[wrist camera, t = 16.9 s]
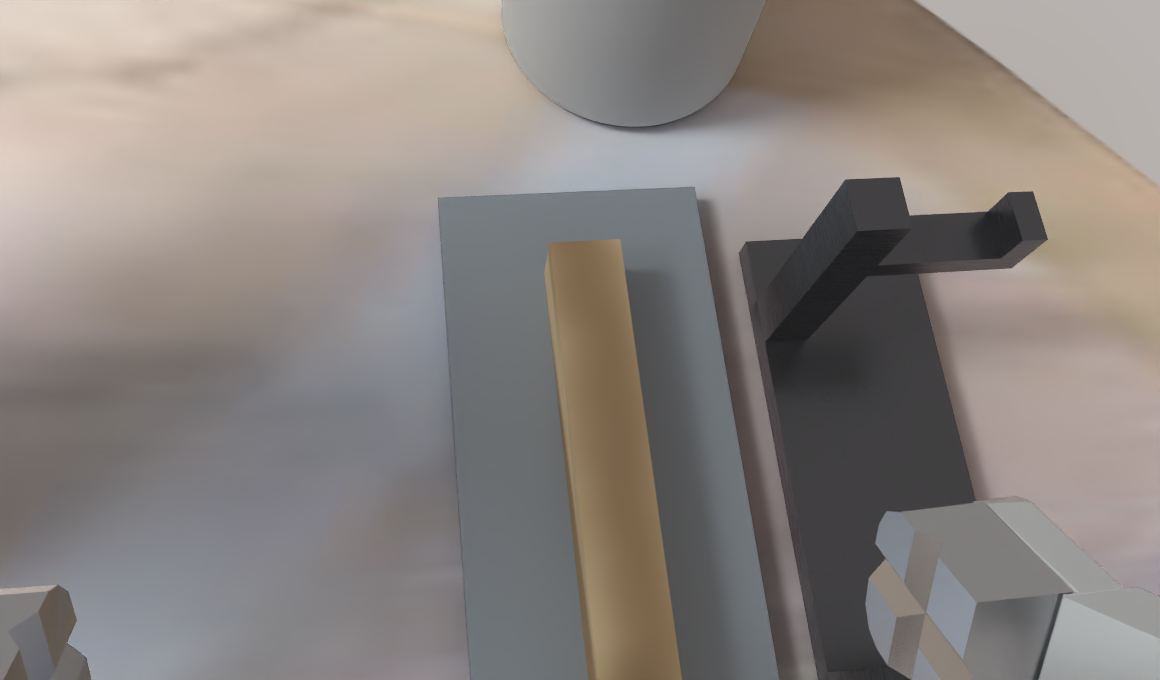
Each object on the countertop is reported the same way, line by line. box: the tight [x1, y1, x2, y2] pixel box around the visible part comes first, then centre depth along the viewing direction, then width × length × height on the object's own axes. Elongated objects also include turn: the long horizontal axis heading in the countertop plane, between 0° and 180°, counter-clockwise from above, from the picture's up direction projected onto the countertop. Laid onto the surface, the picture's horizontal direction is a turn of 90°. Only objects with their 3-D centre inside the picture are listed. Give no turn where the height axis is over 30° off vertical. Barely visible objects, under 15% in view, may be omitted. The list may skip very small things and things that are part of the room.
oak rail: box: [544, 239, 682, 680], centre depth 37 cm, size 3×22×3 cm, turn 6°
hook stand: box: [739, 177, 1048, 680], centre depth 36 cm, size 8×24×12 cm, turn 7°
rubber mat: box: [438, 187, 779, 680], centre depth 40 cm, size 12×28×1 cm, turn 6°
